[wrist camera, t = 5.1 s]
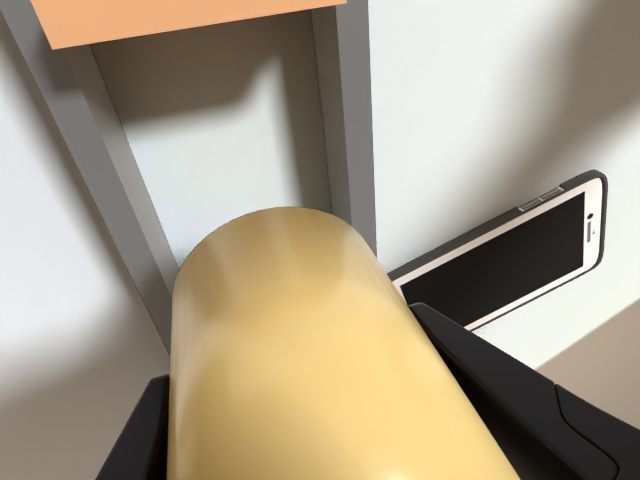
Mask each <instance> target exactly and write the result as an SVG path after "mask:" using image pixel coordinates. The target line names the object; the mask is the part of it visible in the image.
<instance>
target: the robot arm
mask: <svg viewBox="0 0 640 480" xmlns="http://www.w3.org/2000/svg"><path fill="white" fill-rule="evenodd" d="M408 307H409V309H410V310H411V312H412V313H413V315H414V317H415V318H416V320H417V321H418V323H419V324H420V326H421V327H422V329H423V330H424V332H425V333H426V335H427V336H428V338H429V340H430V341H431V343H432V344H433V346H434V347H435V349H436V350H437V352H438V353H439V355H440V356H441V358H442V359H443V361H444V363H445V364H446V366H447V367H448V369H449V370H450V372H451V373H452V375H453V376H454V378H455V379H456V381H457V382H458V384H459V386H460V387H461V389H462V390H463V392H464V393H465V395H466V396H467V398H468V399H469V401H470V402H471V404H472V406H473V407H474V409H475V410H476V412H477V413H478V415H479V416H480V418H481V419H482V421H483V422H484V424H485V425H486V427H487V429H488V430H489V432H490V433H491V435H492V436H493V438H494V439H495V441H496V442H497V444H498V445H499V447H500V448H501V450H502V452H503V453H504V455H505V456H506V458H507V459H508V461H509V462H510V464H511V465H512V467H513V468H514V470H515V471H516V473H517V475H518V476H519V478H520V479H521V480H640V430H639V429H637V428H635V427H633V426H631V425H630V424H627V423H626V422H624V421H622V420H620V419H618V418H616V417H614V416H612V415H611V414H609V413H607V412H605V411H603V410H601V409H599V408H597V407H596V406H594V405H592V404H590V403H589V402H587V401H585V400H584V399H582V398H580V397H578V396H577V395H575V394H573V393H571V392H570V391H568V390H566V389H565V388H563V387H562V386H560V385H558V384H555V385H554V382H553V381H551V380H550V379H548V378H547V377H545V376H543V375H541V374H540V373H538V372H537V371H535V370H533V369H532V368H530V367H528V366H527V365H525V364H523V363H522V362H520V361H518V360H517V359H515V358H513V357H512V356H510V355H508V354H507V353H505V352H504V351H502V350H500V349H499V348H497V347H495V346H494V345H492V344H490V343H489V342H487V341H485V340H484V339H482V338H480V337H479V336H477V335H475V334H474V333H472V332H470V331H469V330H467V329H466V328H464V327H462V326H461V325H459V324H457V323H456V322H454V321H452V320H451V319H449V318H447V317H446V316H444V315H442V314H441V313H439V312H437V311H436V310H434V309H432V308H431V307H429V306H427V305H426V304H424V303H421V302H420V303H416V304H412V305H408ZM169 391H170V375H169V374H166V375H163V376H159V377H156V378H153V379H151V380H150V381H149V383H148V385H147V386H146V388H145V390H144V392H143V394H142V396H141V397H140V399H139V401H138V403H137V405H136V406H135V408H134V410H133V412H132V414H131V416H130V417H129V419H128V421H127V423H126V425H125V426H124V428H123V430H122V432H121V434H120V436H119V437H118V439H117V441H116V443H115V445H114V446H113V448H112V450H111V452H110V454H109V456H108V457H107V459H106V461H105V463H104V465H103V466H102V468H101V470H100V472H99V474H98V476H97V477H96V479H95V480H167V453H168V422H169Z"/></svg>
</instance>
